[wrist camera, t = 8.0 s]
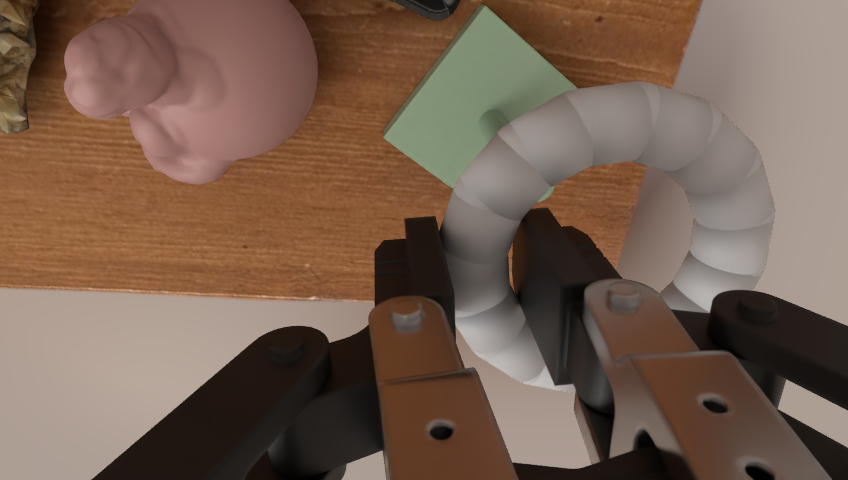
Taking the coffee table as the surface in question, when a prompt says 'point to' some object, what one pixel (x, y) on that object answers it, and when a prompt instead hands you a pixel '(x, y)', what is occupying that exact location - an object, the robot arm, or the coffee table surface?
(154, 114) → the figurine
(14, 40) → the mineral specimen
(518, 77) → the peg stand
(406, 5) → the phone
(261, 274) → the coffee table surface
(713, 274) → the white segmented ring
